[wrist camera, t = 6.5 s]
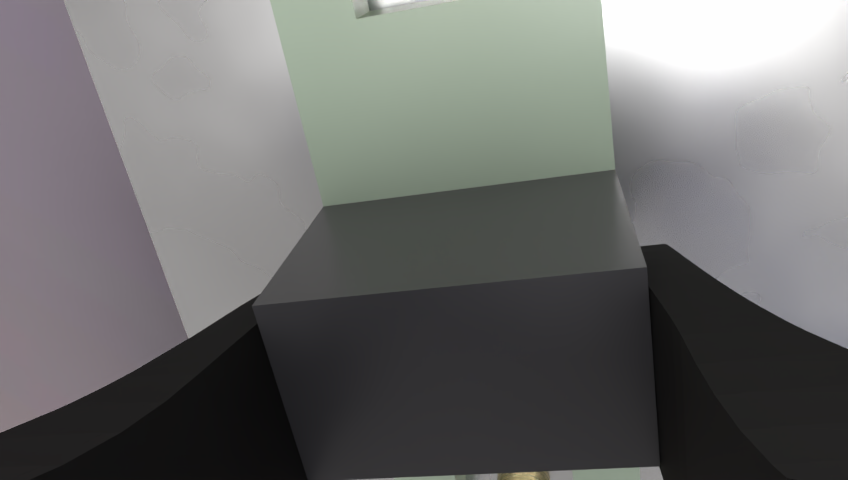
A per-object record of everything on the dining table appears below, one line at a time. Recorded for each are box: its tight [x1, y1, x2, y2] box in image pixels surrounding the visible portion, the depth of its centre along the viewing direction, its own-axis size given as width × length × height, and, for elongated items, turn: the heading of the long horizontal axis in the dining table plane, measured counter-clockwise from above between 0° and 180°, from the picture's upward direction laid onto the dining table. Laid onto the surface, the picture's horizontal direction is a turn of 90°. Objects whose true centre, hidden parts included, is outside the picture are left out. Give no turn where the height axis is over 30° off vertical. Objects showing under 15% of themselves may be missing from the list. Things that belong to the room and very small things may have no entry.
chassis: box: [64, 0, 848, 480], centre depth 13 cm, size 20×14×4 cm
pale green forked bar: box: [252, 0, 660, 480], centre depth 11 cm, size 14×5×4 cm, turn 11°
